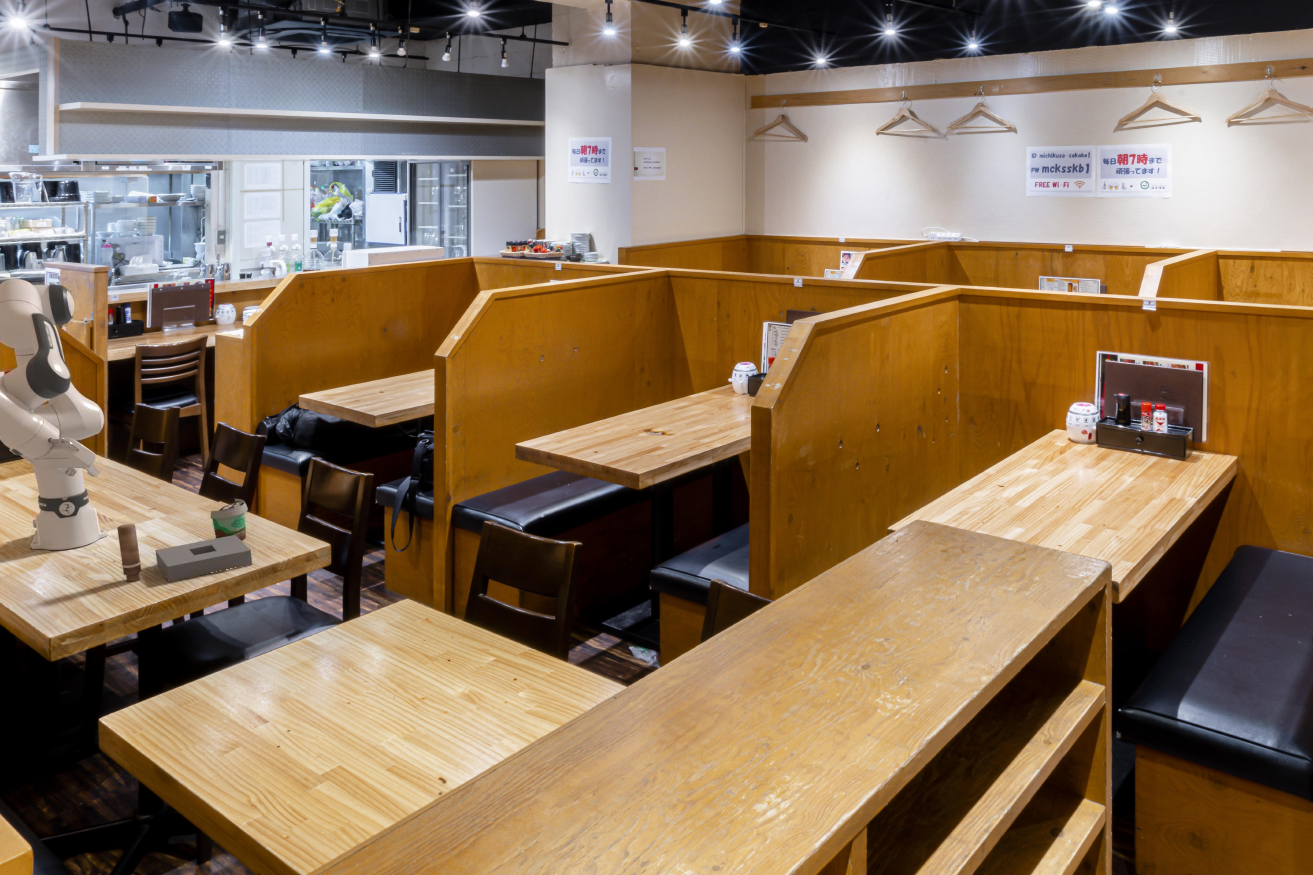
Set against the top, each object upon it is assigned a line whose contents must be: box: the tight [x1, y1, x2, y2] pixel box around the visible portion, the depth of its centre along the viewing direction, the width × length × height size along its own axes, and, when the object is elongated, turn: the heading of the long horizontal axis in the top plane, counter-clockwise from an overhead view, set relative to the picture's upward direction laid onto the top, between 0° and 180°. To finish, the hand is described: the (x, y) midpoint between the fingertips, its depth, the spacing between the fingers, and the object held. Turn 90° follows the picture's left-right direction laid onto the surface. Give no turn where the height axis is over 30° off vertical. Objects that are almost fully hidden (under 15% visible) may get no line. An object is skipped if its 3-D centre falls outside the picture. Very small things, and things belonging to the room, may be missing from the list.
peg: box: [116, 523, 142, 583], centre depth 262 cm, size 4×4×14 cm
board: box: [155, 535, 253, 583], centre depth 273 cm, size 15×20×4 cm
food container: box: [210, 498, 249, 542], centre depth 291 cm, size 12×6×10 cm, turn 168°
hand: (85, 474), depth 251 cm, fingers open, 8 cm apart
